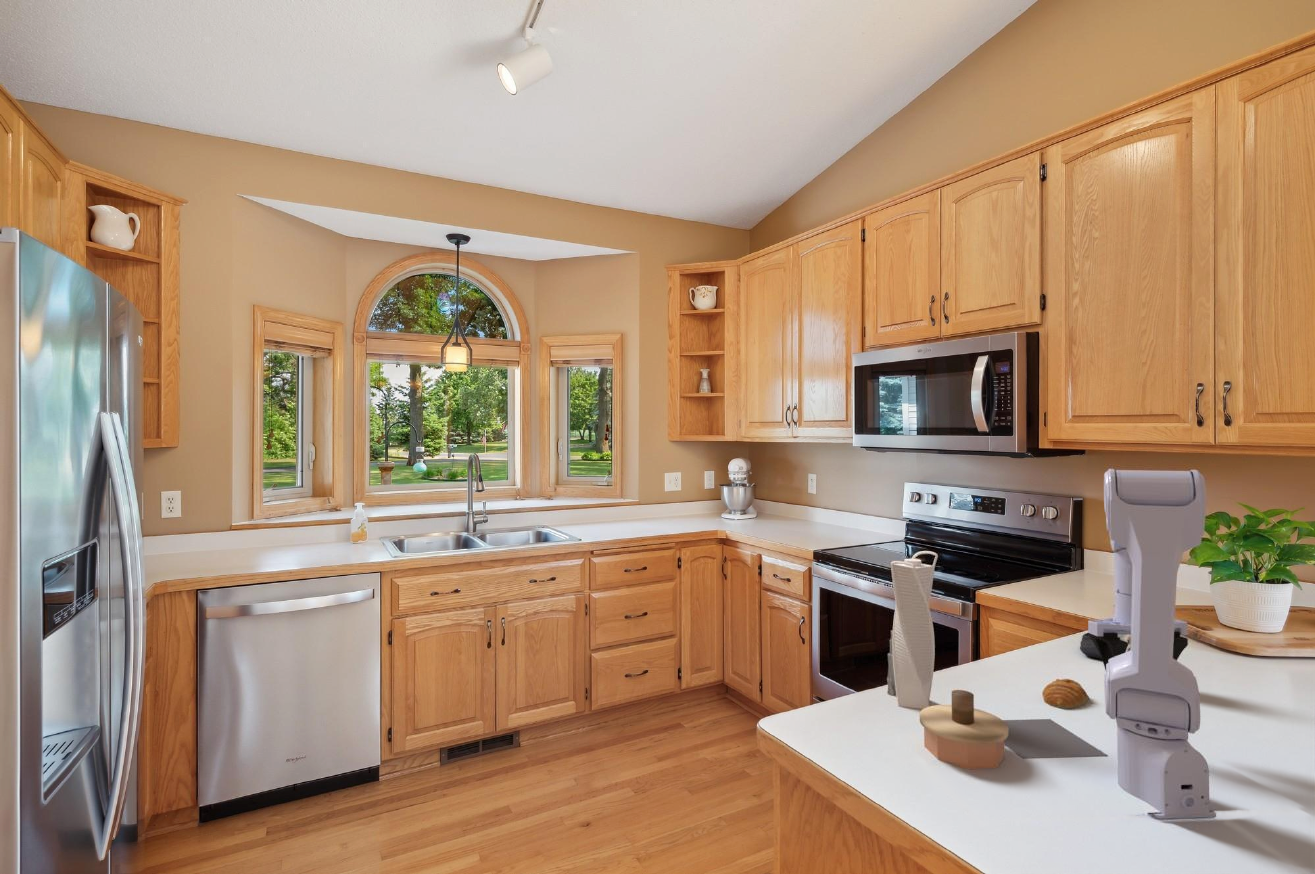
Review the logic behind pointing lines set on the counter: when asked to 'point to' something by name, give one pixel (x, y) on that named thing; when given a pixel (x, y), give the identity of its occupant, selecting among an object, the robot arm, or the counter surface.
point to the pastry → (1064, 694)
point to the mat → (1046, 740)
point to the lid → (963, 721)
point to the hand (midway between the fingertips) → (1138, 681)
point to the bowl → (964, 752)
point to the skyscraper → (912, 633)
